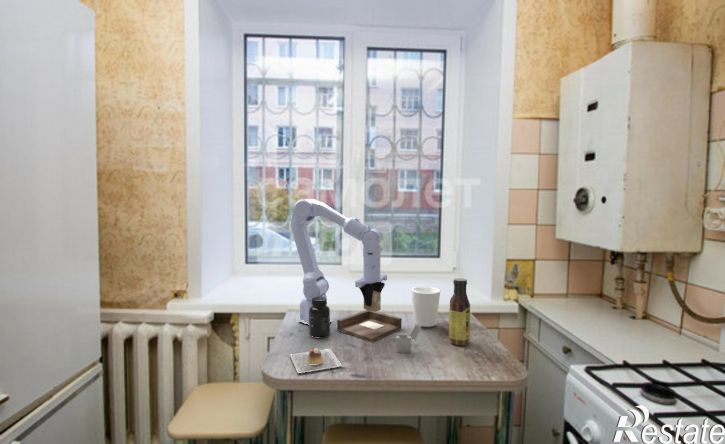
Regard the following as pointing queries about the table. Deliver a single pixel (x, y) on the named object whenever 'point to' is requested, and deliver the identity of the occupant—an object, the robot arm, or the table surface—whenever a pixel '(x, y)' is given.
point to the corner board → (369, 325)
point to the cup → (425, 306)
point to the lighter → (406, 340)
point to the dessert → (316, 359)
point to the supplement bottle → (319, 317)
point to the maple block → (374, 302)
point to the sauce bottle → (459, 314)
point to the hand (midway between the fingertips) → (371, 304)
